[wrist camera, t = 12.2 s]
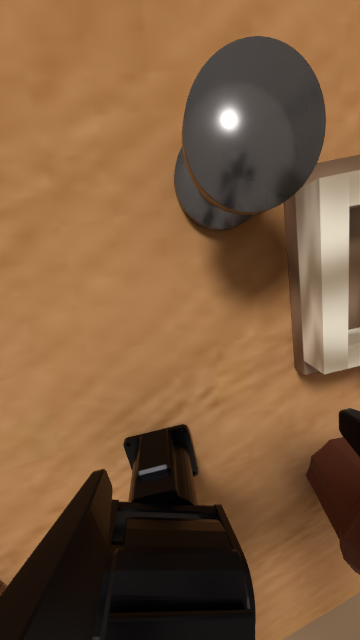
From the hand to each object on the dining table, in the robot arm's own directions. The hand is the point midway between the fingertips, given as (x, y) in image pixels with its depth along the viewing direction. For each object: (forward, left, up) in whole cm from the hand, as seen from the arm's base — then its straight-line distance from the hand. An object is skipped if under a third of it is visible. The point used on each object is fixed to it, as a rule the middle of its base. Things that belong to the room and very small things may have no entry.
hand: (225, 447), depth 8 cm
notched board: (+3, -16, -12) cm, 20 cm away
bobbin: (+12, -5, -12) cm, 18 cm away
